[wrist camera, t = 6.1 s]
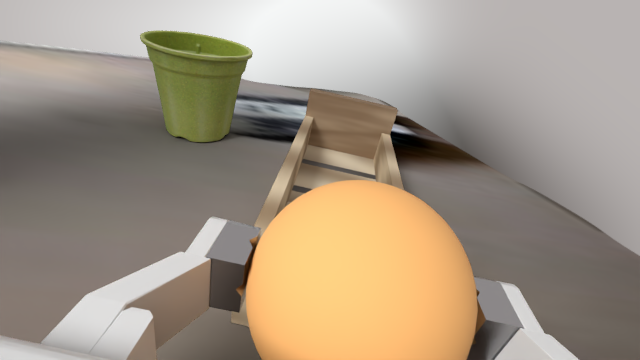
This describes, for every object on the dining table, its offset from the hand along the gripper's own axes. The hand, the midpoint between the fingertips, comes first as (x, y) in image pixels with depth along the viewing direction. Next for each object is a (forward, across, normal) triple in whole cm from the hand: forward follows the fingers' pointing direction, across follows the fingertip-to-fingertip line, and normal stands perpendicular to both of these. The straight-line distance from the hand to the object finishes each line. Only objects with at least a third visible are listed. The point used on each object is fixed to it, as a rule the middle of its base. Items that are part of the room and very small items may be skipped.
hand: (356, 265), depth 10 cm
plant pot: (+23, +15, +8) cm, 28 cm away
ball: (-1, 0, +3) cm, 3 cm away
